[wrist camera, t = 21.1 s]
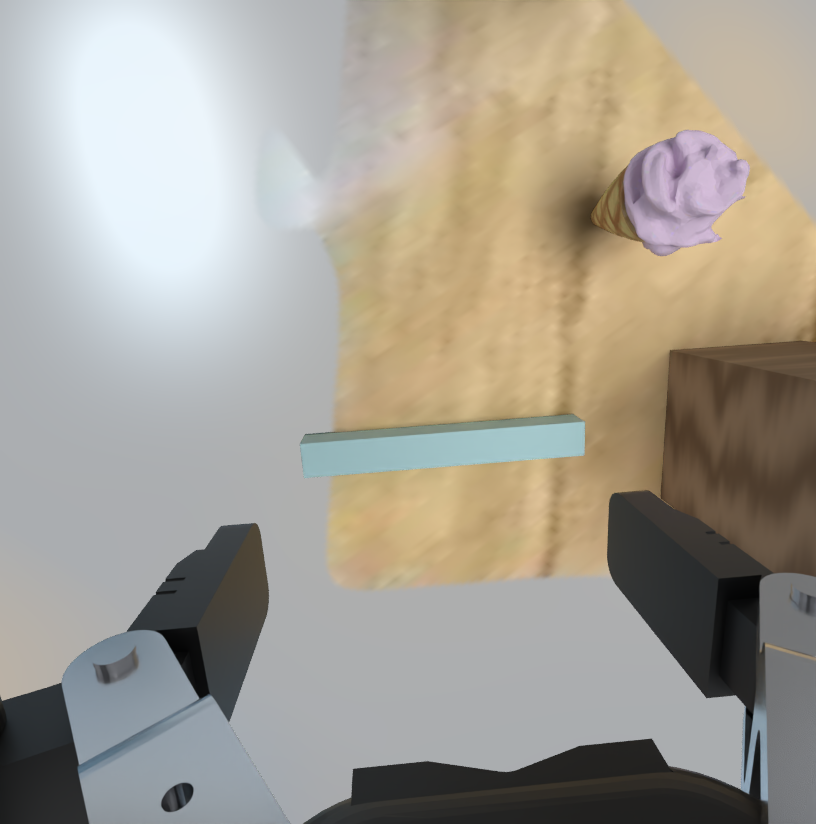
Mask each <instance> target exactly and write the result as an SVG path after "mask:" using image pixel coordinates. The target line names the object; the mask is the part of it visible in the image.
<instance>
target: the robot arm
mask: <svg viewBox="0 0 816 824" xmlns="http://www.w3.org/2000/svg"><path fill="white" fill-rule="evenodd" d="M607 560H608V567H609V571H610V574H611V576H612V579H613V581H614V582H615V584H616V585H617V587H618V588H619V589H620V590H621V592H622V593H623V594H624V595H625V597H626V598H627V599H628V600H629V602H630V603H631V604H632V605H633V607H634V608H635V609H636V610H637V611H638V613H639V614H640V615H641V616H642V618H643V619H644V620H645V622H646V623H647V624H648V625H649V627H650V628H651V629H652V630H653V632H654V633H655V634H656V635H657V637H658V638H659V639H660V640H661V642H662V643H663V644H664V645H665V647H666V648H667V649H668V650H669V651H670V653H671V654H672V655H673V657H674V658H675V659H676V660H677V661H678V663H679V664H680V665H681V667H682V668H683V669H684V670H685V672H686V673H687V674H688V675H689V677H690V678H691V679H692V680H693V682H694V683H695V684H696V685H697V687H698V688H699V689H700V690H701V692H702V693H703V694H704V695H705V697H706V698H712V697H723V696H733V695H736V696H737V697H738V698H739V699H740V700H741V701H742V703H743V704H744V705H745V709H744V717H743V738H742V769H741V790H740V789H738V788H736V787H734V786H732V785H729V784H726V783H725V782H722V781H720V780H718V779H715V778H712V777H709V776H706V775H703V774H700V773H697V772H693V771H689V770H685V769H681V768H677V767H670V766H668V765H667V763H666V761H665V760H664V758H663V757H662V755H661V753H660V752H659V750H658V748H657V747H656V745H655V743H654V742H653V740H652V739H644V740H634V741H624V742H615V743H604V744H594V745H585V746H578V747H576V748H573V749H571V750H568V751H565V752H563V753H560V754H558V755H555V756H553V757H550V758H547V759H545V760H542V761H539V762H537V763H534V764H532V765H529V766H527V767H524V768H521V769H519V770H516V771H512V772H498V771H491V770H484V769H478V768H470V767H464V766H457V765H450V764H442V763H436V762H429V761H427V762H416V763H406V764H397V765H387V766H377V767H367V768H357V769H353V778H352V796H351V798H349V799H347V800H344V801H342V802H339V803H337V804H335V805H333V806H331V807H329V808H327V809H325V810H323V811H321V812H320V813H318V814H317V815H315V816H314V817H312V818H311V819H309V820H308V821H306V822H305V823H303V824H816V577H813V576H809V575H804V574H797V573H773V572H772V571H770V570H769V569H768V568H766V567H765V566H763V565H762V564H761V563H759V562H758V561H756V560H755V559H754V558H752V557H751V556H750V555H748V554H747V553H745V552H744V551H743V550H741V549H740V548H738V547H737V546H736V545H734V544H730V541H729V540H727V539H726V538H725V537H723V536H722V535H720V534H719V533H718V534H716V531H715V530H713V529H712V528H711V527H709V526H708V525H706V524H705V523H704V522H702V521H701V520H699V519H698V518H695V517H693V516H690V515H688V514H685V513H683V512H681V511H678V510H676V509H673V508H672V507H670V506H669V505H668V504H666V503H665V502H664V501H662V500H661V499H660V498H658V497H657V496H656V495H654V494H653V493H652V492H650V491H648V490H644V491H632V492H620V493H614V494H613V495H612V496H611V498H610V502H609V520H608V546H607ZM268 591H269V590H268V581H267V575H266V568H265V561H264V554H263V548H262V541H261V534H260V530H259V527H258V525H257V524H256V523H252V524H240V525H228V526H221V527H220V528H219V529H218V531H217V532H216V534H215V535H214V537H213V538H212V540H211V541H210V543H209V544H208V545H207V547H206V548H205V550H196V551H194V552H193V553H192V554H190V555H189V556H187V557H186V558H184V559H183V560H182V561H180V562H179V563H177V564H176V566H175V567H174V568H173V570H172V571H171V572H170V574H169V575H168V576H167V578H166V581H165V582H163V583H162V585H161V586H160V587H159V589H158V590H157V592H156V595H154V596H153V597H152V598H151V599H150V601H149V602H148V603H147V605H146V606H145V607H144V609H143V610H142V611H141V613H140V614H139V615H138V617H137V618H136V620H135V621H134V622H133V624H132V625H131V626H130V628H129V629H128V630H127V632H125V633H121V634H118V635H115V636H112V637H110V638H107V639H105V640H103V641H101V642H99V643H97V644H95V645H94V646H92V647H90V648H89V649H87V650H86V651H84V652H83V653H82V654H80V655H79V656H78V657H77V658H76V659H75V660H74V661H73V662H72V663H71V664H70V665H69V666H68V668H67V669H66V671H65V673H64V675H63V678H62V683H59V684H57V685H53V686H51V687H47V688H44V689H41V690H37V691H34V692H31V693H28V694H24V695H21V696H17V697H14V698H11V699H7V700H4V701H2V700H1V697H0V824H290V822H289V820H288V819H287V817H286V815H285V814H284V813H283V811H282V809H281V807H280V806H279V804H278V803H277V801H276V799H275V798H274V796H273V794H272V793H271V791H270V789H269V788H268V786H267V784H266V783H265V781H264V779H263V778H262V776H261V775H260V773H259V771H258V770H257V768H256V766H255V765H254V763H253V761H252V760H251V758H250V757H249V755H248V754H247V752H246V750H245V748H244V747H243V745H242V743H241V742H240V740H239V738H238V737H237V735H236V734H235V732H234V730H233V729H232V727H231V725H230V724H229V721H230V718H231V716H232V713H233V710H234V707H235V704H236V701H237V698H238V696H239V693H240V690H241V687H242V684H243V681H244V679H245V676H246V673H247V670H248V667H249V664H250V661H251V659H252V656H253V653H254V650H255V647H256V644H257V641H258V638H259V635H260V633H261V629H262V627H263V624H264V621H265V619H266V615H267V610H268V603H269V592H268Z"/></svg>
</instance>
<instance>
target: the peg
mask: <svg viewBox="0 0 816 824" xmlns="http://www.w3.org/2000/svg"><path fill="white" fill-rule="evenodd" d="M584 445H585V421H583V420H581V419H580V418H578V417H577V416H575V415H574V414H570V415H557V416H544V417H531V418H518V419H505V420H493V421H480V422H467V423H454V424H441V425H428V426H415V427H402V428H389V429H376V430H364V431H351V432H338V433H333V432H325V433H313V434H305V435H304V437H303V439H302V441H301V443H300V449H301V458H302V466H303V474H304V478H310V477H322V476H335V475H348V474H360V473H373V472H385V471H397V470H410V469H422V468H434V467H447V466H459V465H471V464H484V463H496V462H508V461H521V460H533V459H545V458H558V457H570V456H583V455H584Z"/></svg>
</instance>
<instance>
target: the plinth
mask: <svg viewBox="0 0 816 824" xmlns="http://www.w3.org/2000/svg"><path fill="white" fill-rule="evenodd" d="M661 499H663V500H664V501H665V502H667V503H668V504H669V505H671V506H672V507H674V508H675V509H676V510H678V511H681V512H683V513H685V514H688V515H690V516H693V517H695V518H698V519H699V520H701V521H702V522H704V523H705V524H706V525H708V526H709V527H711V528H712V529H713V530H715V531H716V534H718V533H719V534H720V535H722V536H723V537H725V538H726V539H727V540H729V541H730V544H734V545H736V546H737V547H738V548H740V549H741V550H743V551H744V552H745V553H747V554H748V555H750V556H751V557H752V558H754V559H755V560H756V561H758V562H759V563H761V564H762V565H763V566H765V567H766V568H768V569H769V570H770V571H772V572H773V573H797V574H804V575H809V576H813V577H816V342H808V341H794V342H780V343H766V344H752V345H738V346H724V347H710V348H696V349H682V350H670V365H669V380H668V396H667V411H666V427H665V442H664V458H663V473H662V489H661Z"/></svg>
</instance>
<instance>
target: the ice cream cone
mask: <svg viewBox="0 0 816 824" xmlns="http://www.w3.org/2000/svg"><path fill="white" fill-rule="evenodd" d="M749 170H750V167H749V164H748V163H747V161H746V160H742V159H740V160H737V157H736V153H735V152H734V151H732V150H731V149H730V148H728V147H727V146H726V145H725V144H723V143H722V142H721V141H720V140H719V139H718V138H717V137H715V136H713V135H711V134H708V133H705V132H702V131H697V130H684V131H681V132H678V134H677V135H676V137H674V138H670V139H667V140H664V141H661V142H658V143H656V144H655V145H652V146H650V147H648V148H646V149H644V150H642V151H641V152H639V153H637V154H636V155H635V156H634V157H633V158H632V159H631V161H630V163H629V165H628V166H627V167H626V168H625V169H624V170H623V171H622V172H621V173H620V174H619V175H618V177H617V178H616V179H615V180H614V181H613V182H612V184H611V185H610V186H609V187H608V189H607V190H606V191H605V193H604V194H603V196H602V197H601V199H600V200H599V202H598V203H597V205H596V207H595V208H594V210H593V211H592V213H591V221H592V223H593V224H594V225H596V226H598V227H600V228H602V229H604V230H606V231H609V232H611V233H613V234H616V235H618V236H621V237H624V238H628V239H631V240H635V241H640V242H642V243H643V246H644V247H645V248H646V249H650V251H651V252H652V253H654V254H656V255H658V256H667V255H669V254H672V253H673V252H675V251H677V250H678V249H680V248H681V247H691V246H695V245H697V244H702V243H712V242H716V241H718V240H720V239H722V238H721V237H719V235H718V234H716V235H715V233H714V232H713V230H712V229H711V226H712V224H713V223H714V222H715V221H716V220H717V219H718V217H719V216H720V215H721V214H722V213H723V212H724V211H725V210H726V209H727V208H728V207H730V206H731V205H732V204H733V203H735V202H736V201H738V200H740V199H743V198H745V197H743V196H742V194H743V193H744V191H745V184H746V179H747V177H748V175H749Z"/></svg>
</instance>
